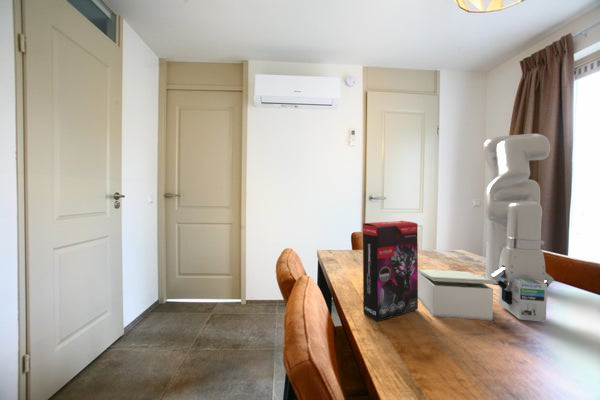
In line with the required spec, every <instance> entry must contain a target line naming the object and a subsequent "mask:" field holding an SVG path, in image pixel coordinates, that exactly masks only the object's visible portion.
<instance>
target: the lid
mask: <svg viewBox="0 0 600 400" xmlns="http://www.w3.org/2000/svg"><path fill="white" fill-rule="evenodd" d="M418 272H419V273H421V274H423V275H425V276H426V277H428V278H430V279H431V280H433V281H445V282H463V283H481V284H485V285H494V283H493V281H492V280H488V279H486V278H483V277H481V275H477V274H475V273H472V272H470V271H461V270H460V271H459V270H440V269H439V270H436V269H419V268H418Z"/></svg>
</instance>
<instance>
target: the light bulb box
mask: <svg viewBox="0 0 600 400" xmlns="http://www.w3.org/2000/svg"><path fill="white" fill-rule="evenodd" d="M505 276H506V275H505ZM503 279H504V278H501V277H500V280H501V281H503ZM507 283H508V281H507ZM498 287H499V288H498V290H499V292H498V295H499V296H498V304H499V305H501V307H503V308H504V309H506V310H507V311H508V312H510V313H511V314H512V315H513V316H515V317H516V318H517V319H518V320H524V321H534V322H543V323H546V322H547V302H548V301H547V300H548V299H547V298H548V287H547V284H545V283H543V282H541V281H539V280H528V279H514V282H513V283H512V287H511V289H510V291H511V292H512V304H511V305H509V304H507V303H506V302H504V301H503V300H502V288H501V287H500V286H499V285H498Z"/></svg>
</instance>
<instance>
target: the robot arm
mask: <svg viewBox="0 0 600 400" xmlns="http://www.w3.org/2000/svg"><path fill="white" fill-rule="evenodd" d="M550 152H551V143H550V140H549V139H548V137H547V136H546V135H543V134H540V133H527V134H526V133H524V134H514V135H500V136H495V137H490V138H488V139H486V140H485V142H484V143H483V155H484V159H485V161H486V164H487V166H488V169H489V179H488V180H489V181H488V182H489V183H488V185H487V187H486V189H485V191H484V195H483V201H484V203H483V204H484V205H483V207H484V208H483V209H484V223H485V228H486V229H485V230H486V242H485V243H486V244H485V245H486V250H485V273H482V274H481V275H480V277H483V278H486V279H488V280H492V281H493V285H494V284H496V285H498V287H499V286H500V287H501V288H502V300H503V301H504V302H506V303H507V304H509V305H511V304H512V292H511V291H510V289H511V287H512V283H513V282H514V279H528V280H539V281H541V282H543V283H545V284H547V288H548V287H549V285H551V284H552V283H553V282H554V278H553V276H551V275H550V274H549V273H547V272H546V262H545V261H546V260H545V255H544V251H543V249H541V248H542V247H541V246H544V245H545V241H544V240H542V221H543V219H542V218H543V209H542V208H543V207H542V205H541V187H540V184H539V183H538V181H536V180H534V179H529V178H530V176H531V169H530V164H529V163H530V162H529V161H542V160H545V159H547V158H548V157H549V155H550ZM505 275H506V276H505ZM500 277H501V278H504V279H503V281H501V280H500ZM507 281H508V283H507Z"/></svg>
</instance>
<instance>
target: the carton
mask: <svg viewBox="0 0 600 400" xmlns="http://www.w3.org/2000/svg"><path fill="white" fill-rule="evenodd" d="M418 301H420V302H421V304H422V305H423V306H424V307H425V308H426V310H427V312H429V314H431V316H432V317H437V318H438V317H439V318H449V319H450V318H452V319H465V320H466V319H467V320H479V321H493V319H494V318H493V312H494V311H493V309H494V308H493V307H494V289H493V288H492V287H490V286H488V284H481V283H463V282H445V281H433V280H431V279H430V278H428V277H426V276H425V275H423V274H421V273H419V272H418Z"/></svg>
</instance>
